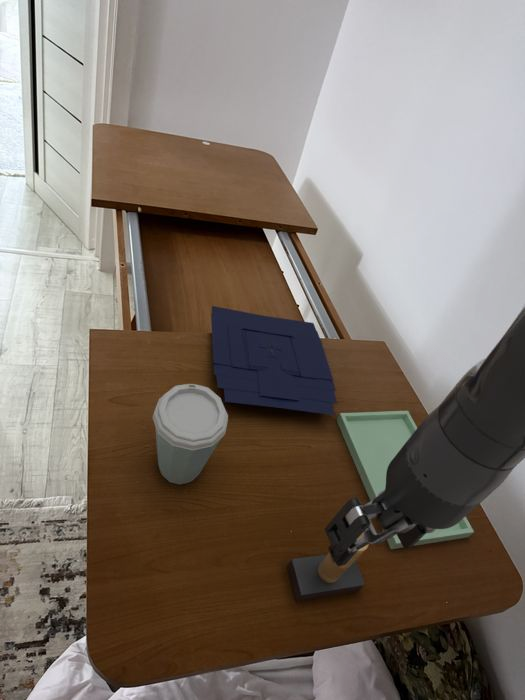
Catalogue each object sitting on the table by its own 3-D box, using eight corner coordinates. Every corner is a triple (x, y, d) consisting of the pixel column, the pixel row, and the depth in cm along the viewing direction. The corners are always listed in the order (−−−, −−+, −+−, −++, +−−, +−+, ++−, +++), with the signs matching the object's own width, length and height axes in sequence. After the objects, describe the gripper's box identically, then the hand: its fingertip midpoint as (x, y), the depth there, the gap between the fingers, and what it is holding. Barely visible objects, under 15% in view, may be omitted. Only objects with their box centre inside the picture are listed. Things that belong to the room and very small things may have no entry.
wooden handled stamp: (358, 591, 74) (398, 553, 65) (295, 601, 70) (329, 562, 62) (346, 557, 77) (383, 517, 68) (286, 566, 73) (316, 524, 65)
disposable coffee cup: (212, 498, 78) (235, 442, 68) (141, 497, 75) (154, 439, 65) (208, 440, 85) (227, 382, 75) (143, 438, 82) (154, 377, 72)
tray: (467, 537, 86) (474, 531, 84) (390, 549, 80) (396, 543, 79) (403, 416, 103) (408, 410, 101) (335, 419, 97) (340, 412, 95)
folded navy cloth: (211, 411, 88) (215, 396, 86) (208, 315, 112) (211, 302, 110) (339, 426, 94) (346, 412, 92) (310, 332, 117) (315, 319, 115)
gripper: (405, 520, 37) (327, 601, 48) (536, 488, 43) (441, 567, 54) (359, 436, 42) (297, 528, 52) (484, 418, 48) (405, 503, 58)
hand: (370, 547), depth 53 cm, fingers open, 8 cm apart
